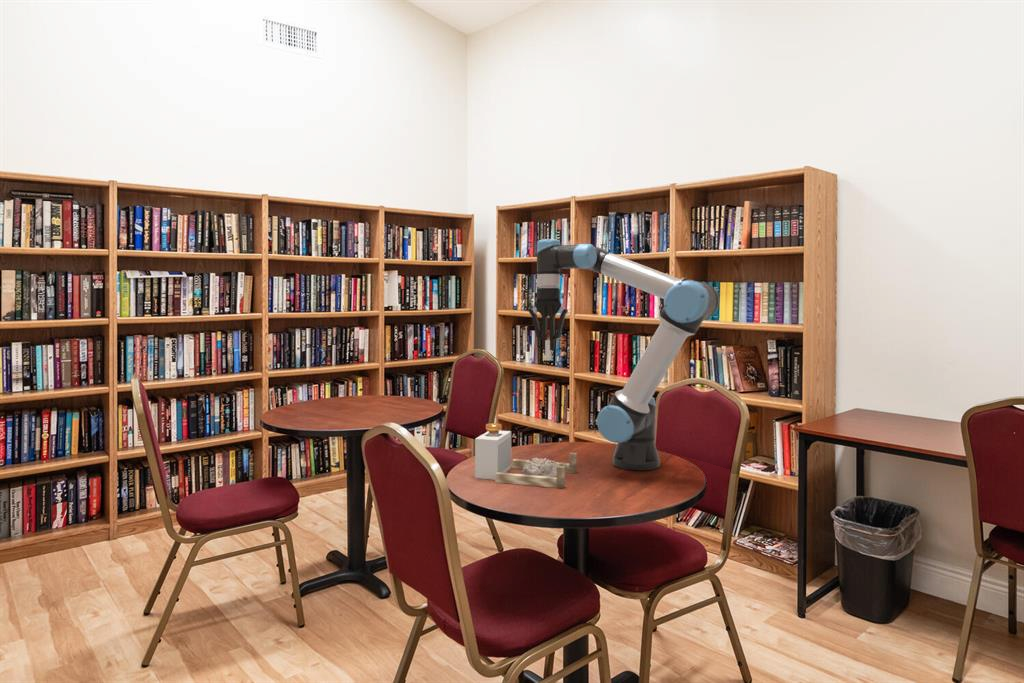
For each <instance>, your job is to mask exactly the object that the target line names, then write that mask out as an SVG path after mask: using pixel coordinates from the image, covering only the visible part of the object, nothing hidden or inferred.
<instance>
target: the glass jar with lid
mask: <svg viewBox="0 0 1024 683" xmlns="http://www.w3.org/2000/svg"><path fill="white" fill-rule="evenodd" d="M485 430H486V431H487V432H488V431H489V436H495V437H499V431H502V423H496V422H494V423H493V422H492V423H486V424H485Z"/></svg>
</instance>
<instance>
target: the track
mask: <svg viewBox="0 0 1024 683" xmlns="http://www.w3.org/2000/svg"><path fill="white" fill-rule="evenodd" d="M577 454H578V452H570V453H569V454H568V462H556V461H555V462H556V463H558V464H559V465H560V466H557V473H556V477H548V476H536V475H525V473H521V474H520V473H513V472H512V473H511V472H506V473H502V472H497V473H496V474H495V480H494V482H495V483H500V484H502V483H503V484H512V485H520V486H521V485H522V486H532V487H533V486H534V487H544V488H545V487H546V488H555V489H564V488H565V486H566V481H565V480H566V475H565V474H576V473H577V471H578V470H577V469H578V468H577V467H578V466H577V465H578V464H577V463H578V462H577V461H578V460H577V459H578V458H577V457H578V455H577ZM529 460H530V459H518V458H513V459H511V469H519V470H523V469H522V468H523V466H524V465H525V464H526V462H529Z"/></svg>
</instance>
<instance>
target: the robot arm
mask: <svg viewBox="0 0 1024 683" xmlns="http://www.w3.org/2000/svg"><path fill="white" fill-rule="evenodd" d="M535 255H536V286H537V287H538V288H537V289H536V303H535V304H534V305H535V306H533V307H532V308H529V309H528V313H529V314H530V315H531V319H532V323H533V327H534V331H535V335H536V338H537V339H540V340H541V342H542V343H541V344H542V347H541V349H542V350H543V351H544V353H545V354H544V358H545V359H544V360H545V361H548V362H549V361H552V357H553V356H552V353H553V352H552V351H555V348H556V347H555V345H556V344H555V341H556V340H558V339H560V338H561V335H562V331H563V326H564V323H565V319H566V315H567V314H568V313H569V309H568V308H565V307H564V306H562V303H561V290H560V288H559V287H560V286H561V270H564V269H567V270H568V269H569V270H570V269H571V270H572V269H573V270H574V269H578V270H579V269H580V270H588V271H589V270H590V271H592V272H595V273H597V274H601V275H602V276H606V277H608V278H611V279H613V280H615V281H618V282H620V283H623V284H626V285H627V286H630V287H633V288H635V289H638V290H640V291H643V292H645V293H647V294H650V295H652V296H656V297H657V298H660V299H663V307H662V308H661V309H662V310H661V311H660V313H659V315H658V316H659V320H660V323H659V326H658V327H657V329H656V330H655V332H654V333H653V335H652V337H651V340H650V341H649V342H648V343H647V344H648V345H647V347H646V348H645V350H644V352H643V353H642V355H641V357H640V359H639V360H638V362H637V364H636V366H635V367H634V369H633V371H632V373H631V374H630V377H629V378H628V380H627V382H626V383H625V385H624V386H623V388H622V389H619V390H616V391H615V393H614V394H613V396H612V397H611V399H610V401H609V403H608V405H607V406H604V407H603V408H602V409H601V410H600V411H599V412H598V414H597V417H596V425H597V429H598V431H599V434H600V435H601V436H602V437H603V438H604V439H605V440H607V441H608V442H610V443H612V444H613V443H614V444H616V447H615V449H614V452H613V455H612V465H613V466H615V467H617V468H619V469H622V470H629V471H650V470H651V471H652V470H656V469H658V468H660V463H661V461H660V456H659V453H658V449H657V445H656V443H655V440H656V439H655V436H656V435H655V434H656V409H657V406H656V399H655V397H653V396H654V394H655V392H656V390H657V389H658V388H659V386H660V383H661V382H662V381H663V379H664V377H665V375H666V373H667V372H668V371H669V368H670V367H671V365H672V364H673V361H674V360H675V359H676V357H677V355H678V353H679V352H680V350H681V348H682V346H683V345H684V343H685V341H686V340H687V338H688V337H690V336H695V334H696V333H697V331H698V330H699V328H700V326H701V325H702V323H703V321H705V320H709V318H711V317H712V316H714V315H715V313H716V312H717V310H718V308H719V306H720V305H719V304H720V297H719V293H718V291H717V290H716V288H715V287H713V286H712V285H711V284H709V283H707V282H703V281H697V280H693V279H690V278H687V277H682V278H678V277H675V276H673V275H670V274H667V273H664V272H661V271H660V270H656V269H654V268H652V267H649V266H647V265H643V264H641V263H639V262H635V261H633V260H630V259H628V258H625V257H622V256H620V255H617V254H614V253H612V252H609V251H608V250H607V251H606V250H605V249H603V248H601V247H597V246H594V245H593V244H591V243H579V244H577V243H576V244H567V245H566V244H561V241H560V240H559V239H557V238H556V239H554V238H548V239H547V238H546V239H545V238H543V239H540V240H538V241H537V243H536V254H535ZM538 312H539V314H540V316H541V327H540V322H539V319H538V315H537V313H538ZM558 312H559V314H560V315H559V319H558V322H557V327H556V315H557V314H558ZM548 319H549V337H548Z"/></svg>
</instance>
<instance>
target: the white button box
mask: <svg viewBox="0 0 1024 683" xmlns="http://www.w3.org/2000/svg"><path fill="white" fill-rule="evenodd" d="M474 445H475V448H474V461H475V462H474V468H475V469H474V478H475V479H482V480H483V479H484V480H494V481H495V474H496V473H497V472H502V473H508V472H509V471H510V470H511V469H512V431H511V430H500V431H499V437H495V436H489V431H488V430H487V431H485V433H483V434H480V435H478V436H477V437H476V438H475V439H474Z"/></svg>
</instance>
